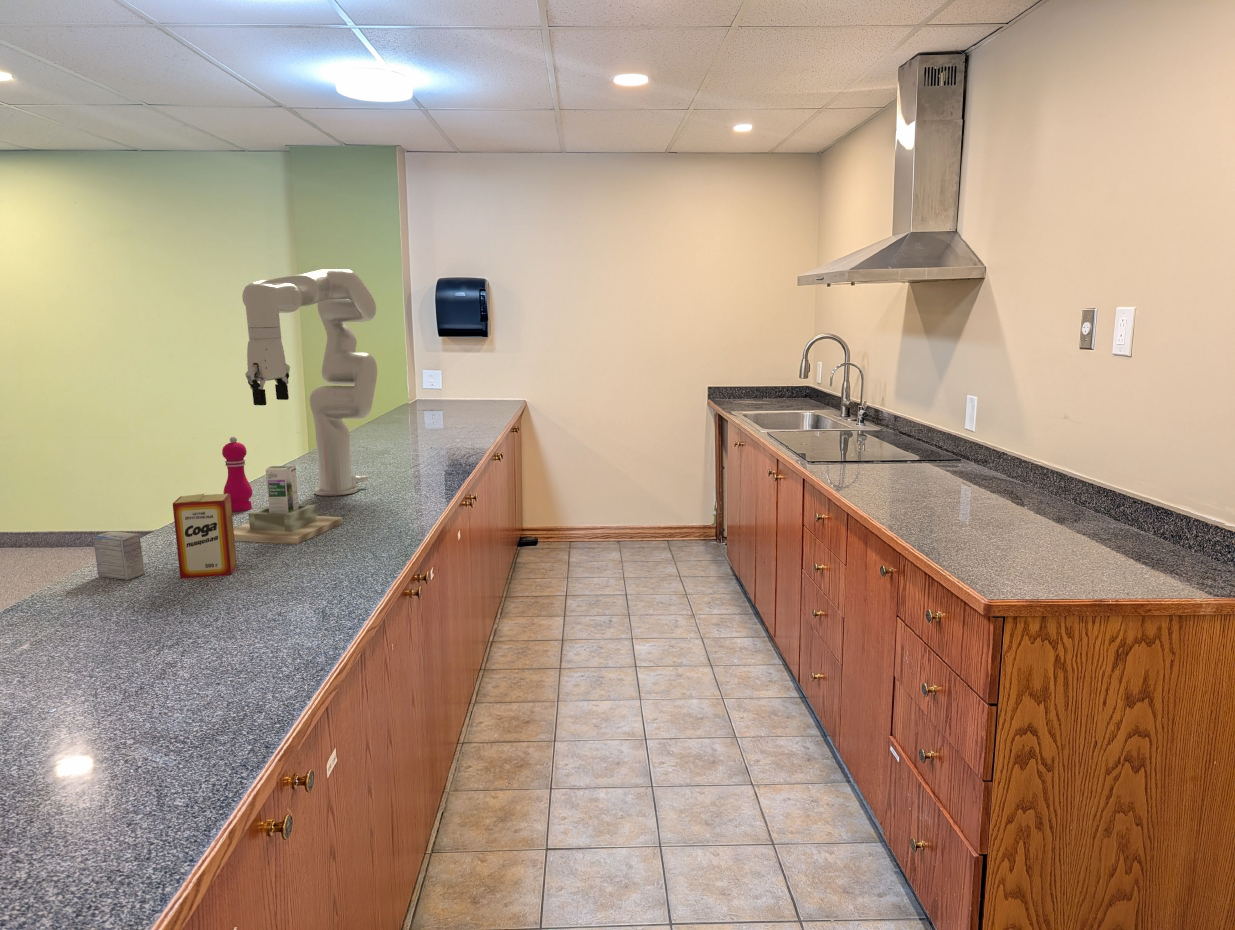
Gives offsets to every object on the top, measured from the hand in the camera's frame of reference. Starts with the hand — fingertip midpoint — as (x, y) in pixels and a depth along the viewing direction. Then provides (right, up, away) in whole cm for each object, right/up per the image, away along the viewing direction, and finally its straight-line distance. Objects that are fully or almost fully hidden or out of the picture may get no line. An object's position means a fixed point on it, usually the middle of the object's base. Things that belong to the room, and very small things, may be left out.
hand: (271, 402), depth 213 cm
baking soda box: (+4, -38, -40) cm, 55 cm away
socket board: (+6, -32, -8) cm, 34 cm away
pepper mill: (-15, -28, +16) cm, 36 cm away
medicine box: (-13, -39, -42) cm, 59 cm away
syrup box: (+6, -31, -8) cm, 32 cm away
